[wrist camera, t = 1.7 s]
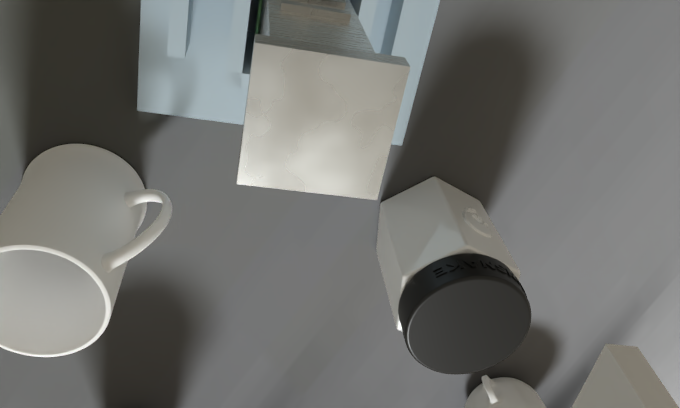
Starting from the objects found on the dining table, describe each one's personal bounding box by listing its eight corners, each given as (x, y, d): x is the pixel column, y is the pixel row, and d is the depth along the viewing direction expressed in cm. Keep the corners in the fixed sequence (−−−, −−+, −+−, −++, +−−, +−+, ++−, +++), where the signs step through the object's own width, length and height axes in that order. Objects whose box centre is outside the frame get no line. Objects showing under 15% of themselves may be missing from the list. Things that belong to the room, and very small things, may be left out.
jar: (502, 209, 50) (564, 309, 40) (441, 283, 54) (483, 392, 43) (411, 159, 47) (453, 253, 37) (351, 240, 50) (374, 347, 40)
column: (246, 30, 40) (236, 183, 23) (257, -58, 37) (254, 42, 21) (329, 44, 41) (376, 199, 24) (345, -42, 38) (410, 66, 21)
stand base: (139, 103, 43) (113, 165, 35) (152, -212, 34) (120, -220, 26) (398, 138, 46) (426, 201, 39) (470, -141, 37) (524, -131, 30)
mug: (162, 114, 44) (131, 205, 33) (207, 216, 48) (192, 324, 38) (-2, 162, 44) (-82, 266, 34) (58, 258, 48) (3, 376, 38)
